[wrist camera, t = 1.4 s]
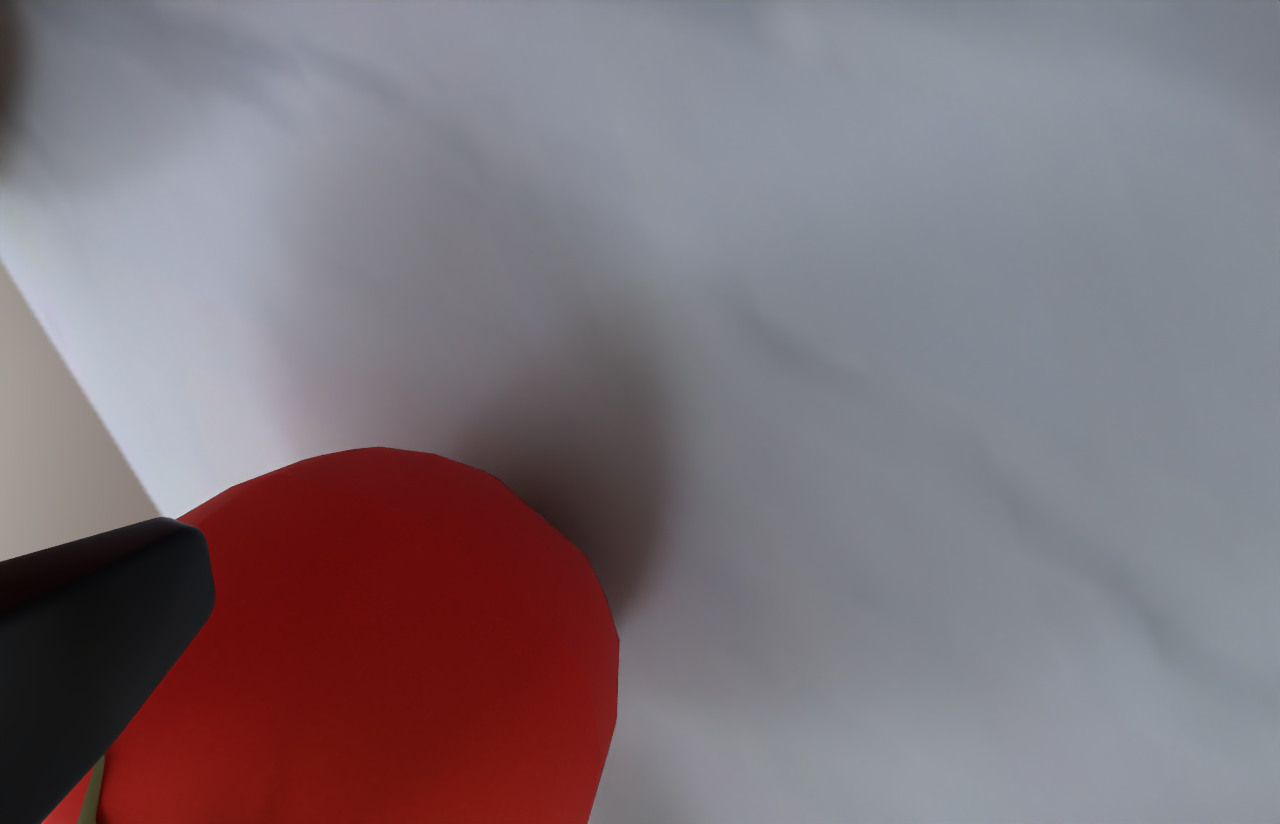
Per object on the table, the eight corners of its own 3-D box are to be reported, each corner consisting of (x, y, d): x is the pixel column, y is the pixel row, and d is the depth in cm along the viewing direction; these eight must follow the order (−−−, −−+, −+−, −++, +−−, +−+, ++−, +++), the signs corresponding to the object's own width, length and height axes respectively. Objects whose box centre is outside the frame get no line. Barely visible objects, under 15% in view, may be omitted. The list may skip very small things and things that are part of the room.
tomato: (273, 410, 30) (-245, 672, 19) (631, 339, 23) (168, 667, 13) (413, 741, 33) (36, 1133, 22) (762, 754, 26) (482, 1313, 16)
